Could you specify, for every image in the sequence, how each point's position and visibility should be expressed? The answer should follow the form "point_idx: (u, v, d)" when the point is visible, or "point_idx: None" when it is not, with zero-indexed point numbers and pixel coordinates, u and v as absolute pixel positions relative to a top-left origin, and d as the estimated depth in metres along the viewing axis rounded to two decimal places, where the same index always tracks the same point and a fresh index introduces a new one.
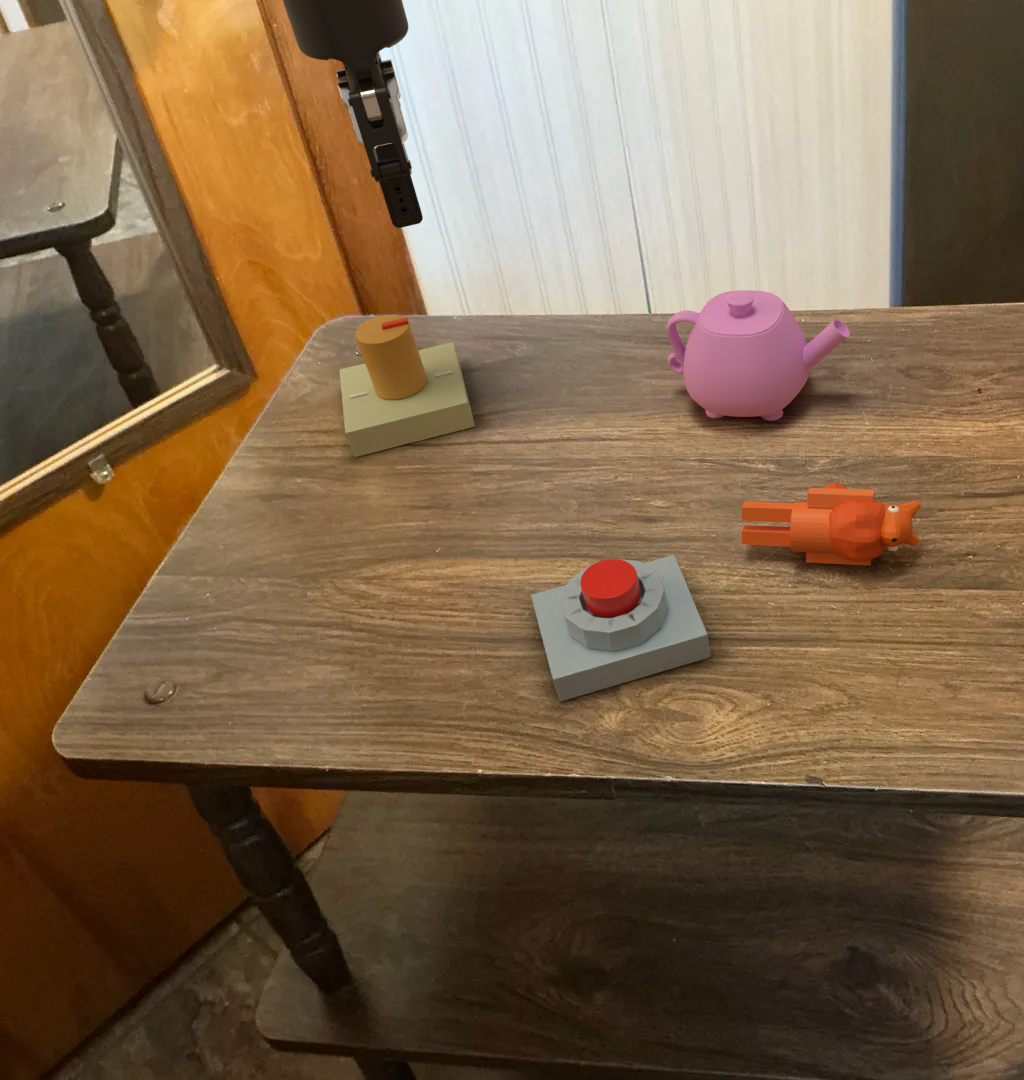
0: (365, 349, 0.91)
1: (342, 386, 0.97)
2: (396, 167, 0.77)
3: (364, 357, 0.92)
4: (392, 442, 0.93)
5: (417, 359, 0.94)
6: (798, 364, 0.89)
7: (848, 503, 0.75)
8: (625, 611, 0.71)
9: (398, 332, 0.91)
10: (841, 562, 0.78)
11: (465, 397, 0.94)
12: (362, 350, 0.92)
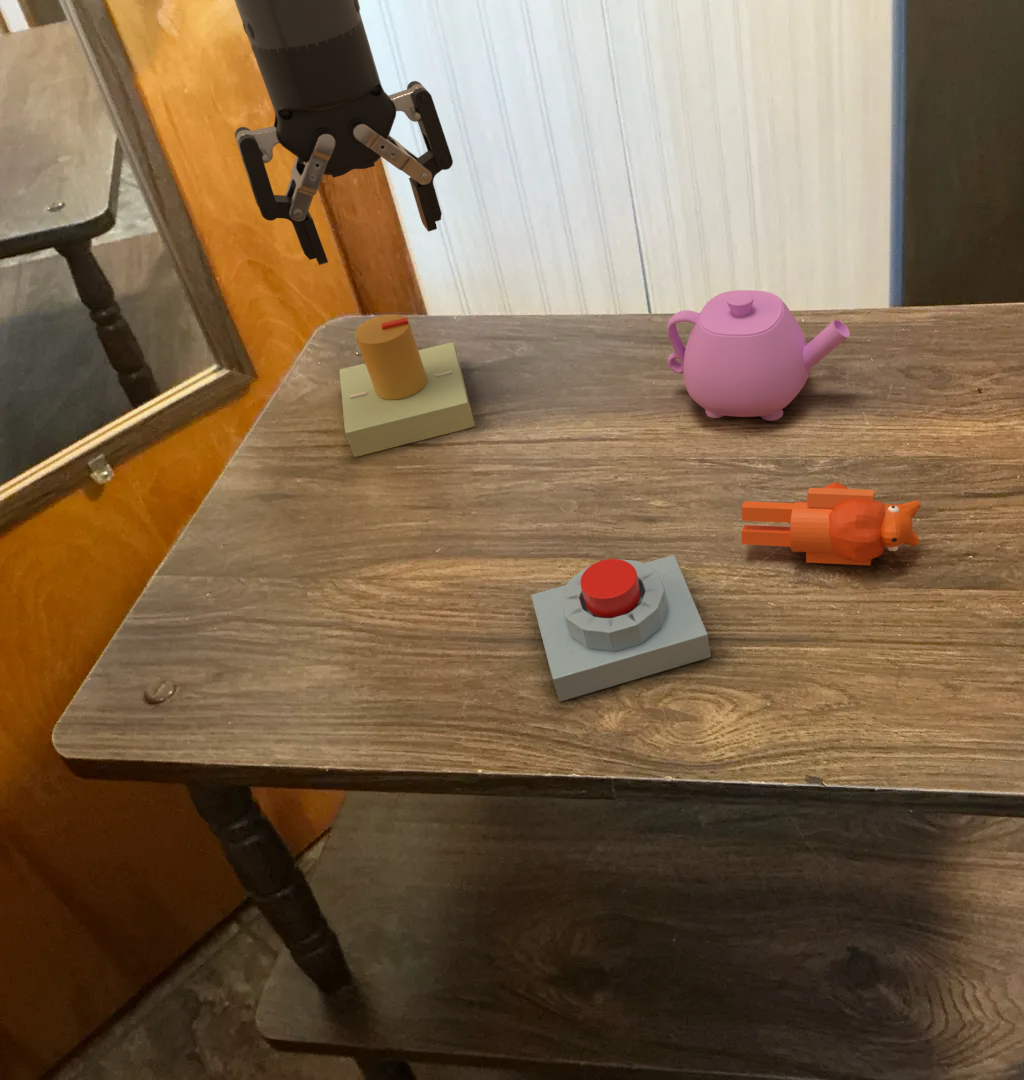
0: (365, 349, 0.91)
1: (342, 386, 0.97)
2: None
3: (364, 357, 0.92)
4: (392, 442, 0.93)
5: (417, 359, 0.94)
6: (798, 364, 0.89)
7: (848, 503, 0.75)
8: (625, 611, 0.71)
9: (398, 332, 0.91)
10: (841, 562, 0.78)
11: (465, 397, 0.94)
12: (362, 350, 0.92)
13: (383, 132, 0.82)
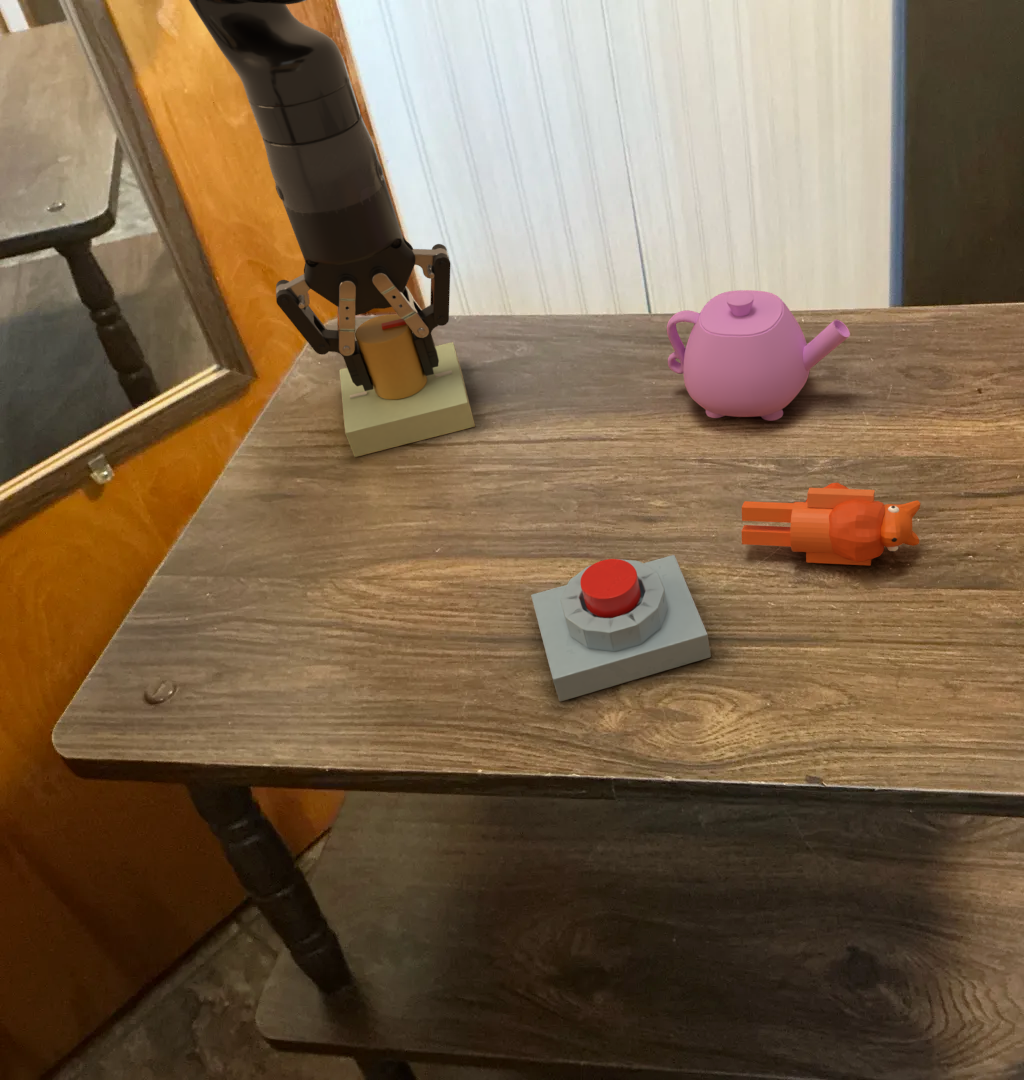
0: (365, 349, 0.91)
1: (342, 386, 0.97)
2: None
3: (364, 357, 0.92)
4: (392, 442, 0.93)
5: (417, 359, 0.94)
6: (798, 364, 0.89)
7: (848, 503, 0.75)
8: (625, 611, 0.71)
9: (398, 332, 0.91)
10: (841, 562, 0.78)
11: (465, 397, 0.94)
12: (362, 350, 0.92)
13: (402, 278, 0.89)
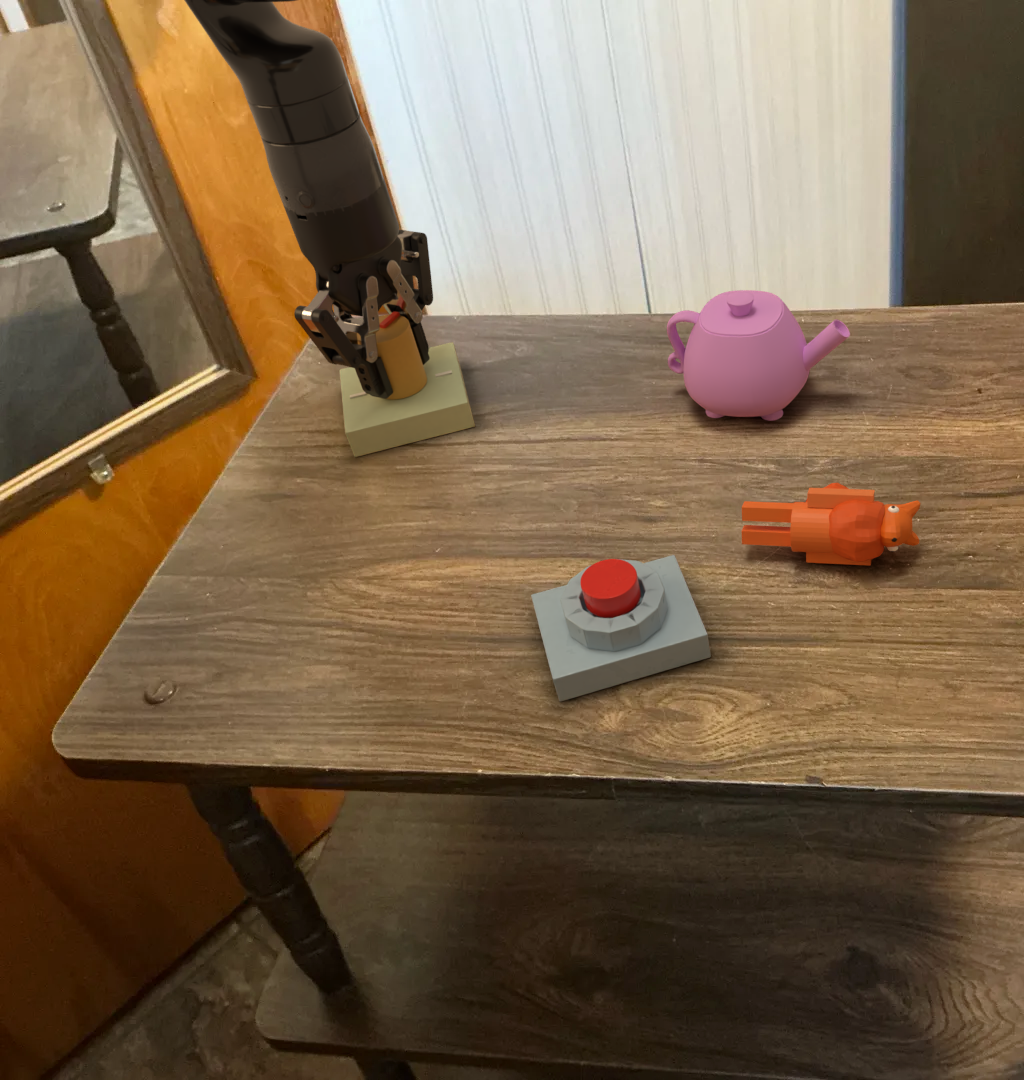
0: (386, 349, 0.91)
1: (342, 386, 0.97)
2: (343, 362, 0.88)
3: (382, 360, 0.92)
4: (392, 442, 0.93)
5: None
6: (798, 364, 0.89)
7: (848, 503, 0.75)
8: (625, 611, 0.71)
9: (404, 322, 0.93)
10: (841, 562, 0.78)
11: (465, 397, 0.94)
12: (381, 353, 0.91)
13: (398, 264, 0.91)
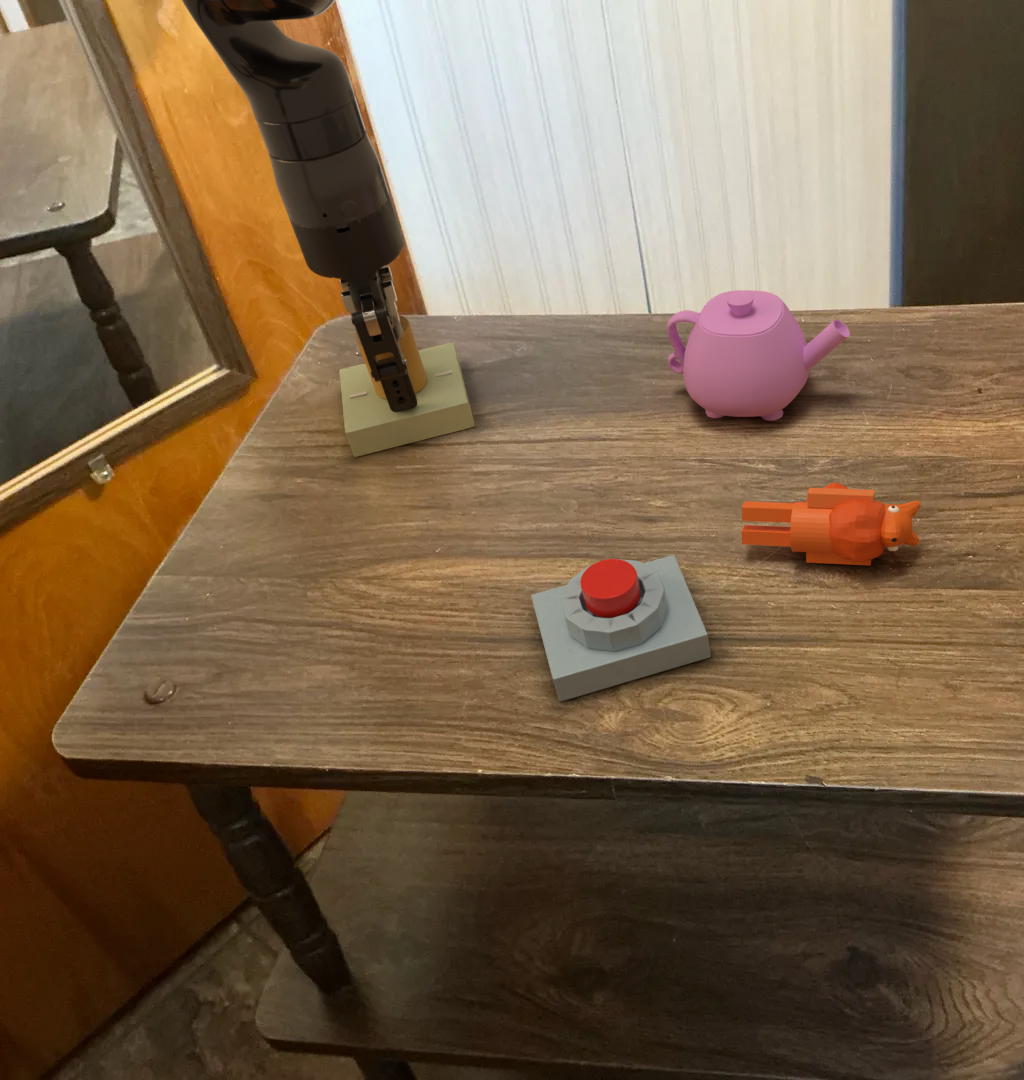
0: (405, 340, 0.92)
1: (342, 386, 0.97)
2: (394, 370, 0.88)
3: (403, 354, 0.92)
4: (392, 442, 0.93)
5: None
6: (798, 364, 0.89)
7: (848, 503, 0.75)
8: (625, 611, 0.71)
9: None
10: (841, 562, 0.78)
11: (465, 397, 0.94)
12: (401, 346, 0.92)
13: None
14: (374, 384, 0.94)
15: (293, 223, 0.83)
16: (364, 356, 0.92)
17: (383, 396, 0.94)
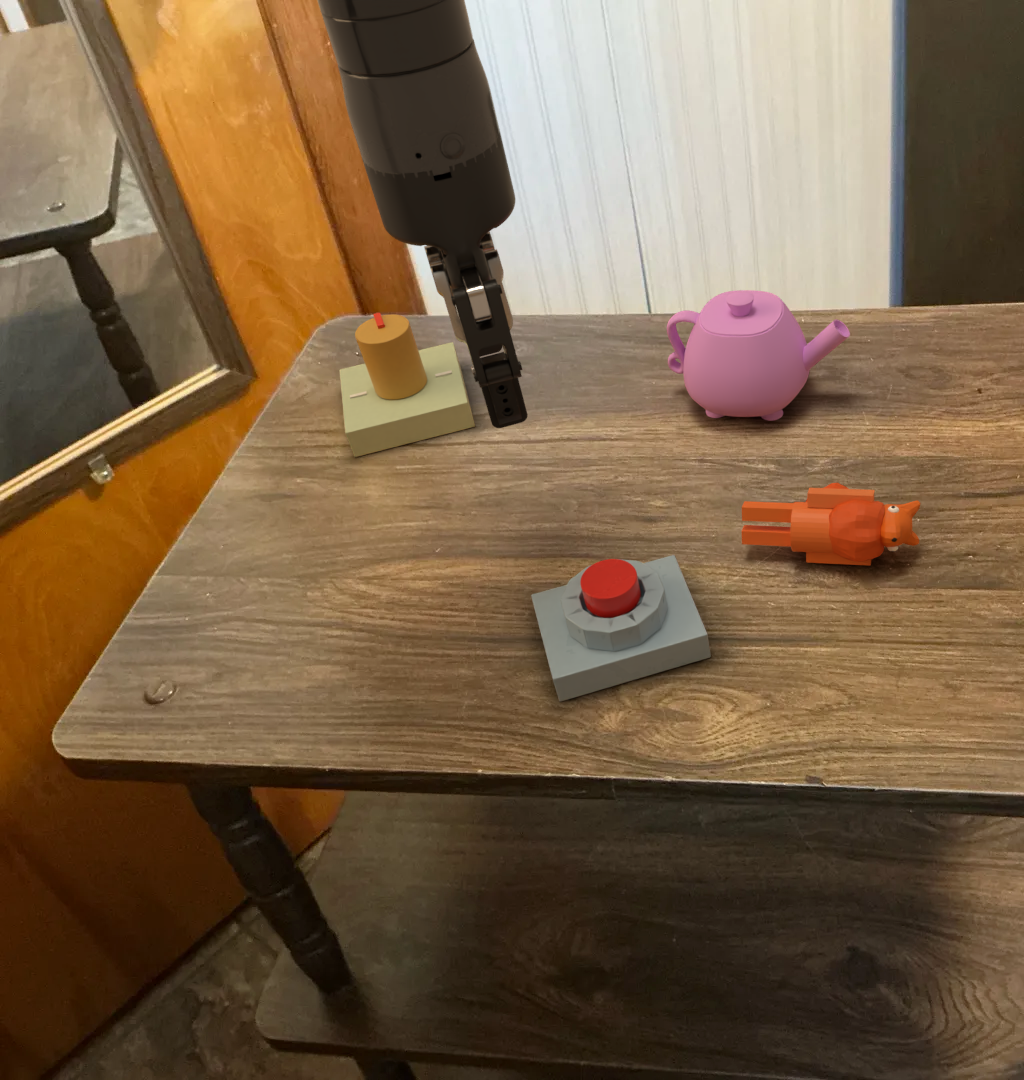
0: (405, 340, 0.92)
1: (342, 386, 0.97)
2: (505, 370, 0.64)
3: (403, 354, 0.92)
4: (392, 442, 0.93)
5: None
6: (798, 364, 0.89)
7: (848, 503, 0.75)
8: (625, 611, 0.71)
9: (395, 317, 0.93)
10: (841, 562, 0.78)
11: (465, 397, 0.94)
12: (401, 346, 0.92)
13: None
14: (374, 384, 0.94)
15: (371, 169, 0.60)
16: (364, 356, 0.92)
17: (383, 396, 0.94)
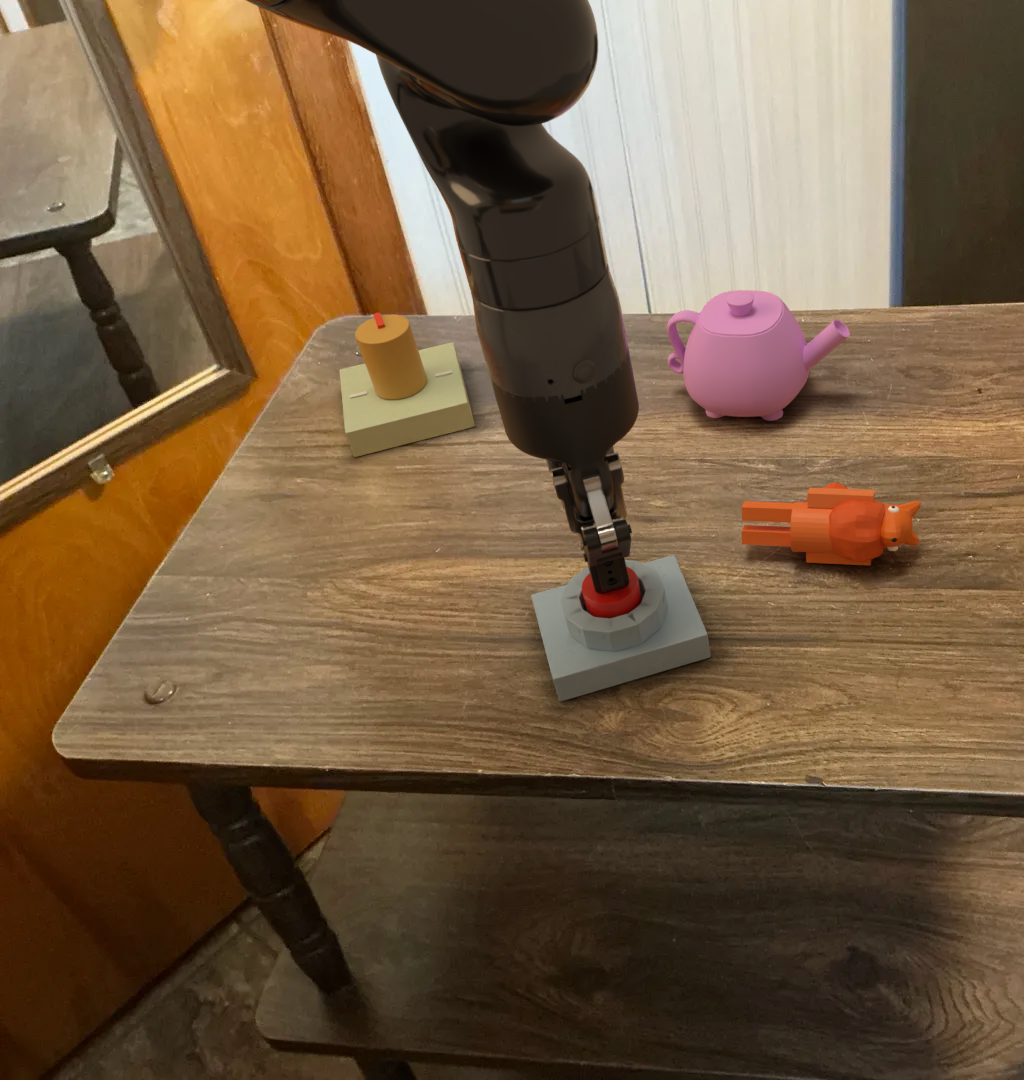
0: (405, 340, 0.92)
1: (342, 386, 0.97)
2: (615, 557, 0.66)
3: (403, 354, 0.92)
4: (392, 442, 0.93)
5: None
6: (798, 364, 0.89)
7: (848, 503, 0.75)
8: None
9: (395, 317, 0.93)
10: (841, 562, 0.78)
11: (465, 397, 0.94)
12: (401, 346, 0.92)
13: None
14: (374, 384, 0.94)
15: (499, 388, 0.59)
16: (364, 356, 0.92)
17: (383, 396, 0.94)
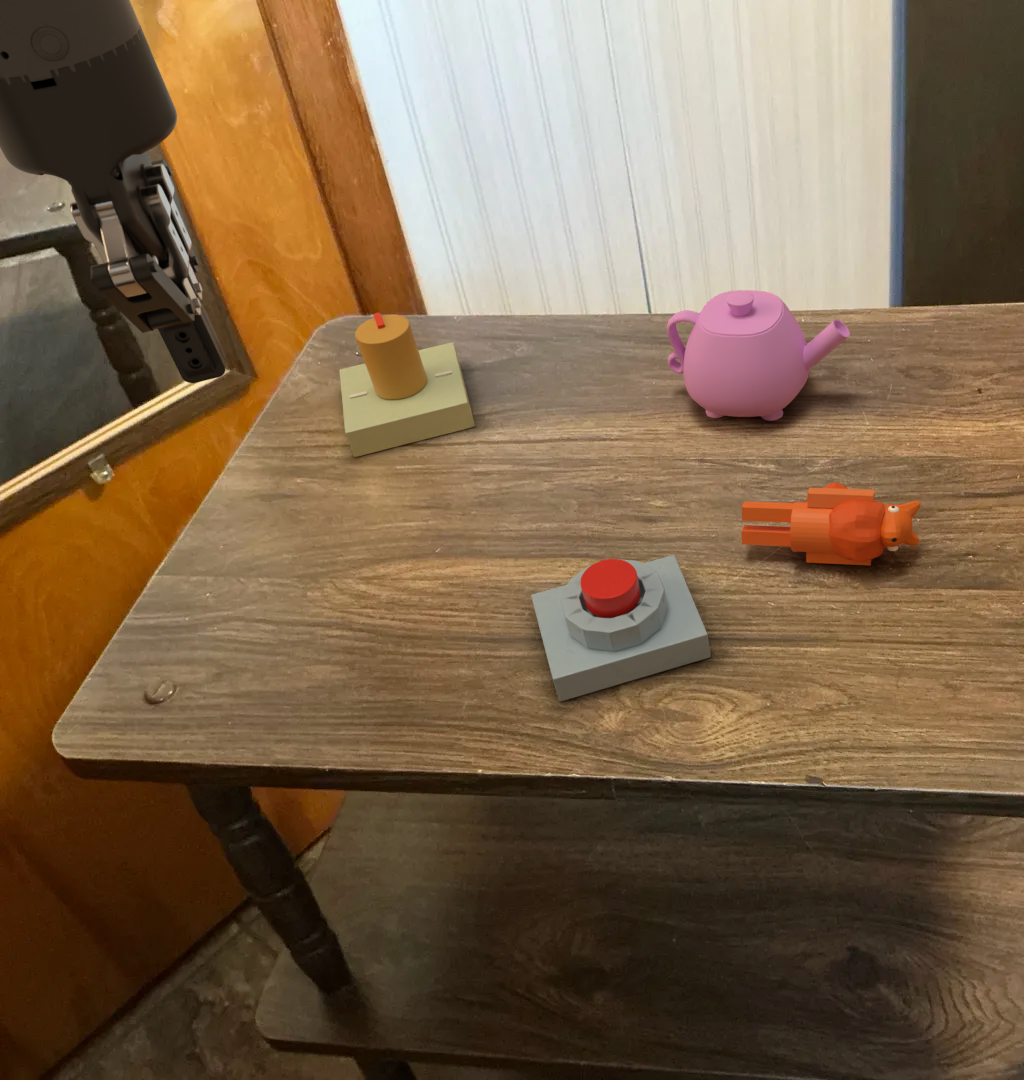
0: (405, 340, 0.92)
1: (342, 386, 0.97)
2: (173, 320, 0.55)
3: (403, 354, 0.92)
4: (392, 442, 0.93)
5: None
6: (798, 364, 0.89)
7: (848, 503, 0.75)
8: (625, 611, 0.71)
9: (395, 317, 0.93)
10: (841, 562, 0.78)
11: (465, 397, 0.94)
12: (401, 346, 0.92)
13: None
14: (374, 384, 0.94)
15: None
16: (364, 356, 0.92)
17: (383, 396, 0.94)
